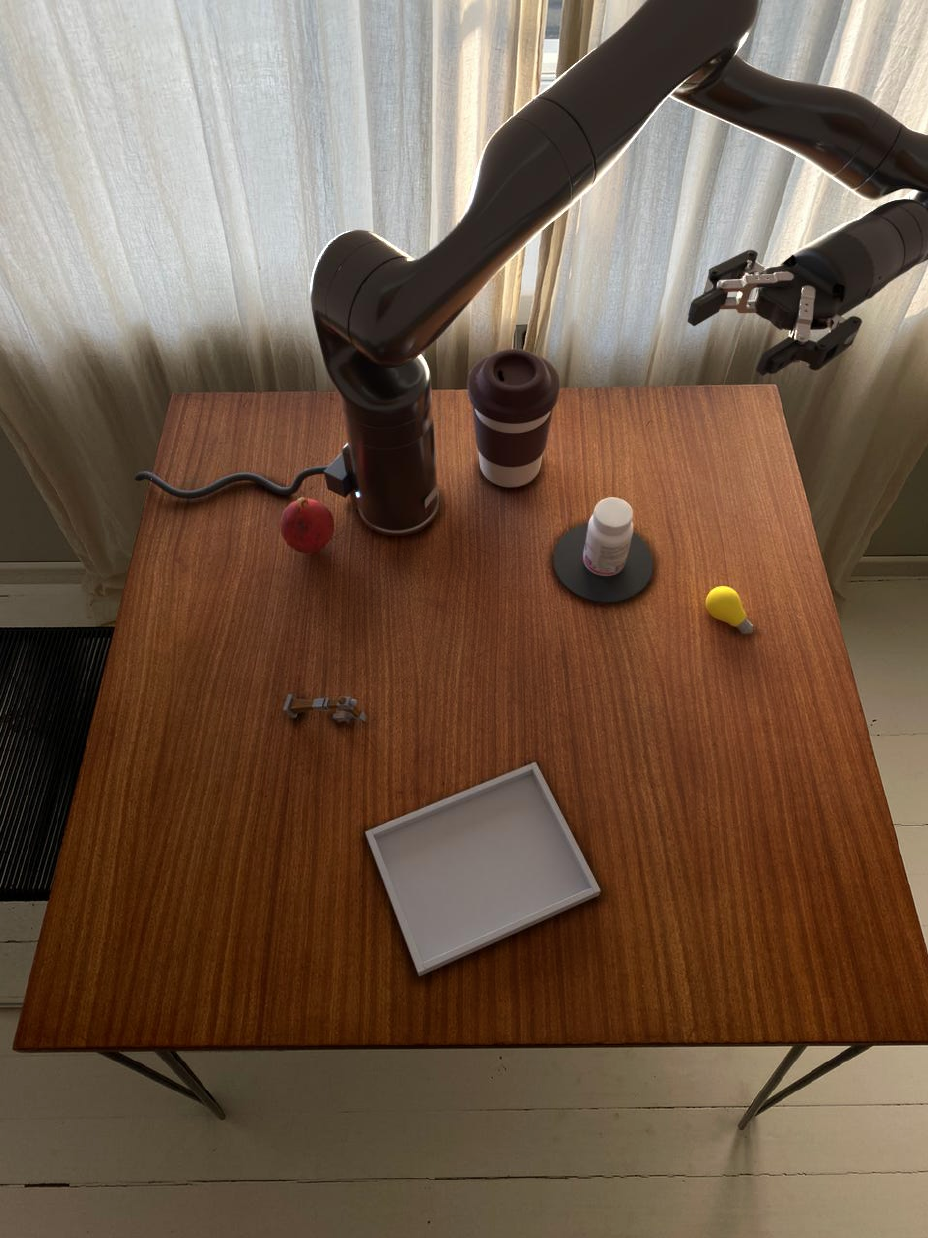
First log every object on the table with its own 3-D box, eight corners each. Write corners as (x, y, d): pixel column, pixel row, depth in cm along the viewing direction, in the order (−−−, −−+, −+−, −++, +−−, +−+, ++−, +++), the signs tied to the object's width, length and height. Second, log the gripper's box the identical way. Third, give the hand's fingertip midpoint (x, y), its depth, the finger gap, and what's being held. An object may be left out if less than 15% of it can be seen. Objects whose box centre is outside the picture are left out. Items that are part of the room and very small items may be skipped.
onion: (330, 570, 97) (318, 526, 90) (280, 562, 97) (265, 517, 91) (344, 530, 100) (334, 483, 93) (296, 522, 100) (282, 476, 94)
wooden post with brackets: (372, 728, 85) (349, 706, 82) (306, 729, 89) (281, 708, 86) (377, 712, 86) (354, 689, 83) (311, 714, 90) (287, 692, 87)
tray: (419, 976, 74) (418, 973, 73) (366, 837, 81) (364, 831, 79) (598, 895, 77) (601, 890, 76) (534, 767, 84) (535, 761, 83)
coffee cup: (563, 450, 106) (575, 352, 93) (532, 508, 101) (540, 413, 88) (489, 426, 108) (490, 327, 96) (455, 482, 103) (452, 385, 91)
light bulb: (729, 575, 91) (708, 595, 90) (769, 617, 90) (749, 638, 89) (713, 586, 94) (693, 606, 93) (753, 627, 93) (732, 647, 92)
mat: (535, 576, 96) (535, 574, 96) (581, 509, 101) (582, 507, 101) (625, 620, 93) (625, 618, 92) (668, 549, 98) (669, 547, 97)
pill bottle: (579, 544, 98) (587, 495, 91) (621, 541, 98) (632, 492, 91) (586, 579, 95) (594, 531, 88) (629, 575, 95) (641, 527, 88)
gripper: (796, 199, 84) (677, 266, 79) (919, 272, 78) (799, 349, 73) (774, 267, 91) (662, 333, 85) (886, 339, 85) (773, 414, 79)
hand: (725, 340), depth 79 cm, fingers open, 8 cm apart
